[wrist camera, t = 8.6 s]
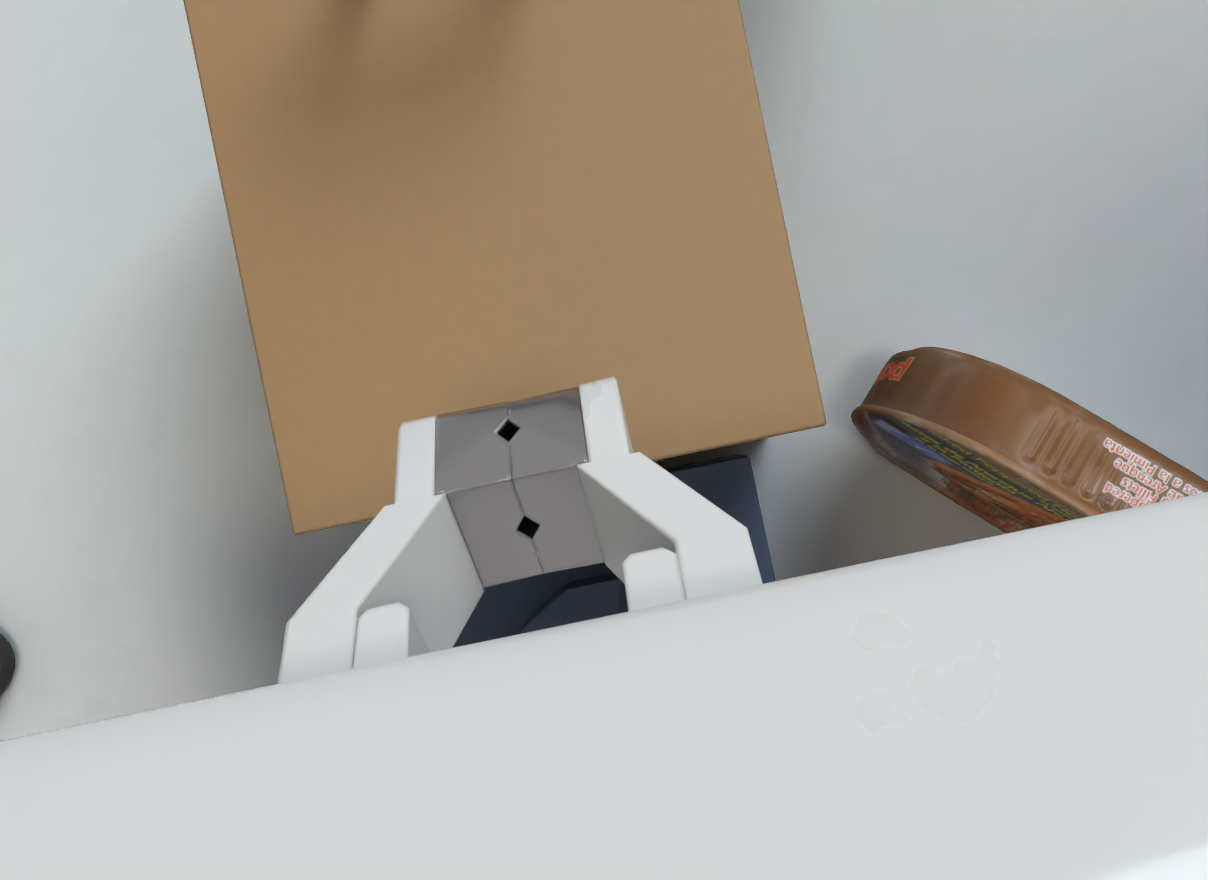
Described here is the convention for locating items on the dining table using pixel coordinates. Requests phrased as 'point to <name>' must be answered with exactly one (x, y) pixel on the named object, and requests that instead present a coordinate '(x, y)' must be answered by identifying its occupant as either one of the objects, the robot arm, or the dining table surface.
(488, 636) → the panel
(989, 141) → the dining table surface
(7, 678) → the phone
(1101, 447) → the tin
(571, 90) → the lid
